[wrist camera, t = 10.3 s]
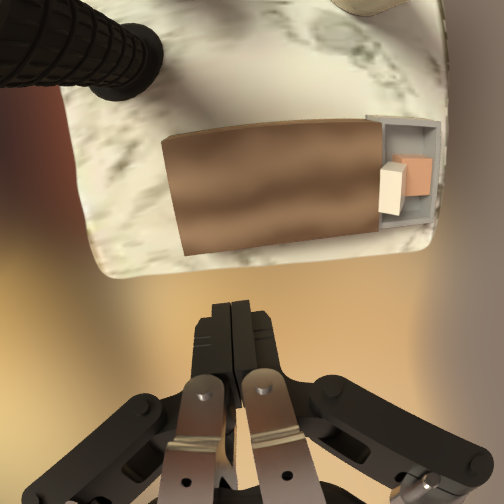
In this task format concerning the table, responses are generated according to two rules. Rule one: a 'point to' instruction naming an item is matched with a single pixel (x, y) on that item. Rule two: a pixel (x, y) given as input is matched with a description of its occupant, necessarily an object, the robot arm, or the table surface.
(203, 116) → the table surface
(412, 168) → the terracotta tile
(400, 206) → the cream tile
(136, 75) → the handle grip
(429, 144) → the box
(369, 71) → the table surface
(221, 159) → the walnut platform
